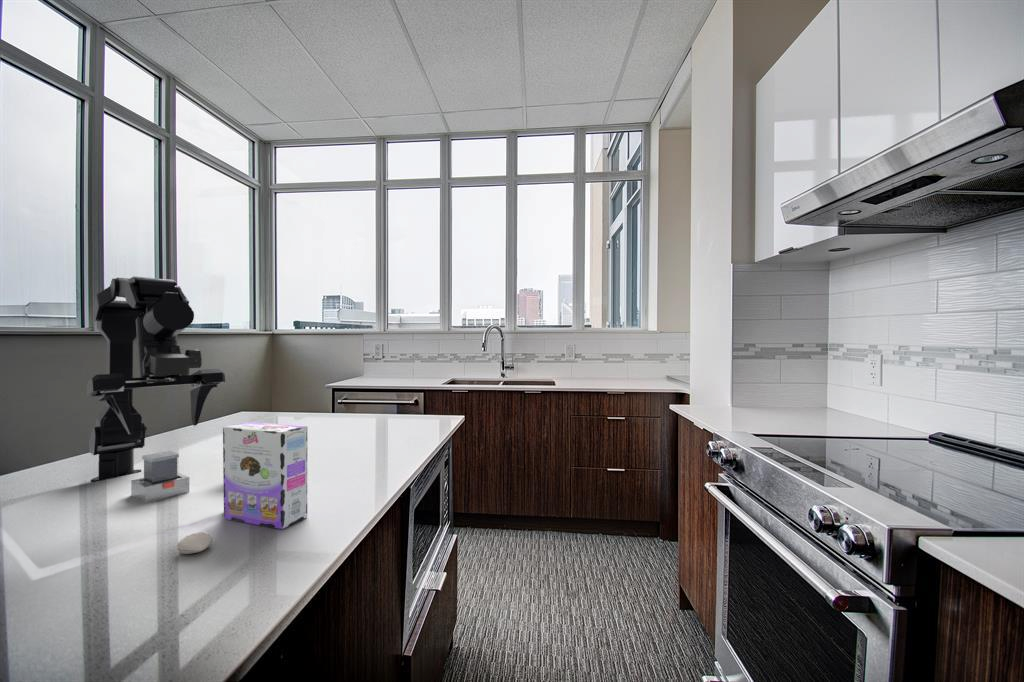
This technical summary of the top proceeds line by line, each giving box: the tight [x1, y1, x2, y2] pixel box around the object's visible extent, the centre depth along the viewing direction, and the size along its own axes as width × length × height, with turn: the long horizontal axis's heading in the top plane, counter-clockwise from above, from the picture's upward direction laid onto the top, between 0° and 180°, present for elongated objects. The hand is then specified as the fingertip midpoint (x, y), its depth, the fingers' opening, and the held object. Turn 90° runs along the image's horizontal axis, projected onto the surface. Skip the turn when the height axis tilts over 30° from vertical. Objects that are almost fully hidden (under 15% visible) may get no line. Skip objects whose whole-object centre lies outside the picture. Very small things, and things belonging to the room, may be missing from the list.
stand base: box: [130, 471, 190, 504], centre depth 85 cm, size 12×12×4 cm
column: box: [141, 450, 180, 485], centre depth 85 cm, size 5×5×8 cm
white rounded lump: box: [176, 531, 214, 555], centre depth 65 cm, size 4×5×2 cm
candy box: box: [222, 421, 308, 530], centre depth 77 cm, size 14×6×16 cm, turn 71°
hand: (164, 429), depth 77 cm, fingers open, 9 cm apart
